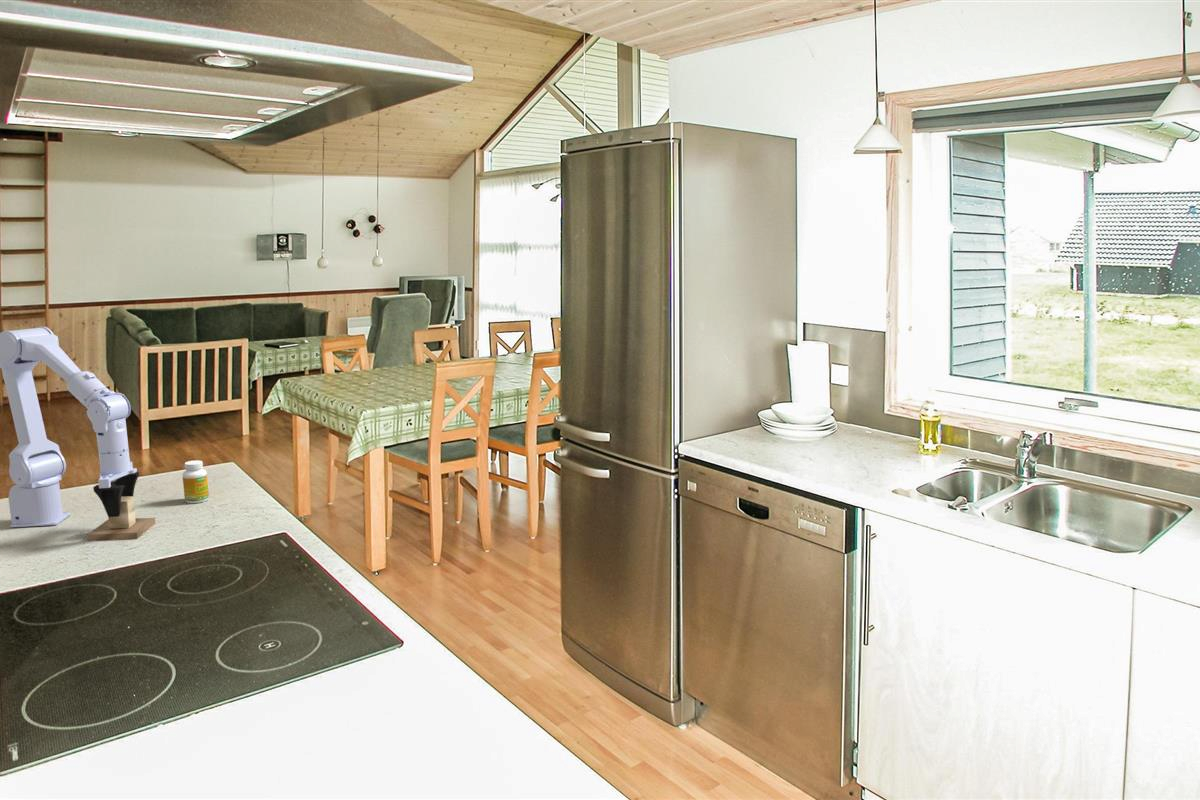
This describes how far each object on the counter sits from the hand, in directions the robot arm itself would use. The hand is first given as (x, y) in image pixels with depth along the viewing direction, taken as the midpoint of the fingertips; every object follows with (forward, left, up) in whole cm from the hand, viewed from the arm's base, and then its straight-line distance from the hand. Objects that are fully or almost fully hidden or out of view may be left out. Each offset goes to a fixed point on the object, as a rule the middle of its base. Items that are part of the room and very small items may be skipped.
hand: (120, 510), depth 187 cm
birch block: (0, 0, -3) cm, 3 cm away
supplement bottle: (+10, +21, -5) cm, 24 cm away
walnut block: (0, 0, -6) cm, 6 cm away
